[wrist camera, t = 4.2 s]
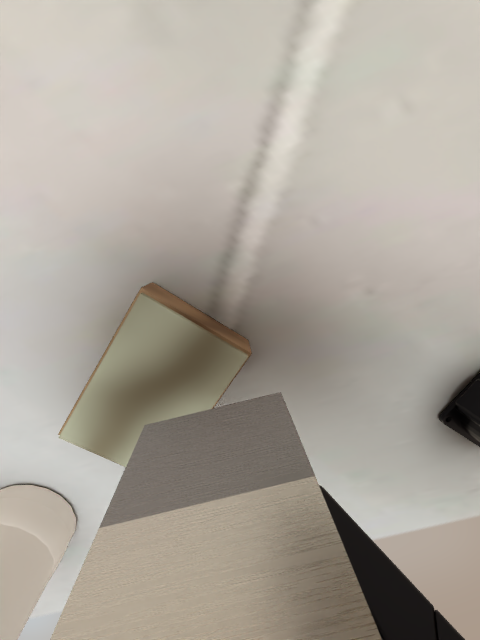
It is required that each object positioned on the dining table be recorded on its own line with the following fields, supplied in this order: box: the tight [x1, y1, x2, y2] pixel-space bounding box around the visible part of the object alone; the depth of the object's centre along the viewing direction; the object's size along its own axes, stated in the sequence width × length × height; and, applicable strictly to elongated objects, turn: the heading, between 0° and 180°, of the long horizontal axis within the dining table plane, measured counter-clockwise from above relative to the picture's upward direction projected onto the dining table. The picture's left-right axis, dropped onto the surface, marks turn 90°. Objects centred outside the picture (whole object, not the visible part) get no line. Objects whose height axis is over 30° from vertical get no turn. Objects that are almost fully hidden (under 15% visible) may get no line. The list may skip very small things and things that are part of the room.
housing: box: [50, 392, 382, 640], centre depth 6 cm, size 5×5×7 cm
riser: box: [58, 282, 252, 467], centre depth 18 cm, size 8×12×3 cm, turn 147°
